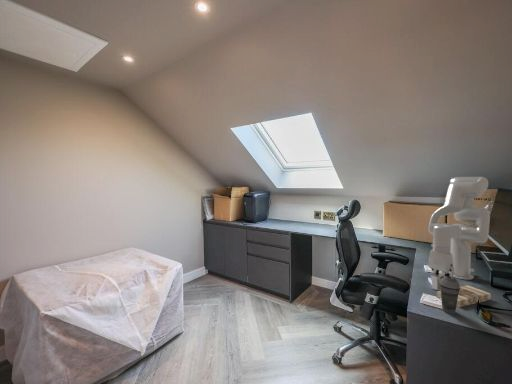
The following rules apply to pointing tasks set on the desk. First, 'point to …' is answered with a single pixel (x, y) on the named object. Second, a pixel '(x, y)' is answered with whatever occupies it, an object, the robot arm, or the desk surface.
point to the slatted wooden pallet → (469, 296)
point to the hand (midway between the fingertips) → (440, 282)
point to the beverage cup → (449, 293)
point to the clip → (436, 281)
